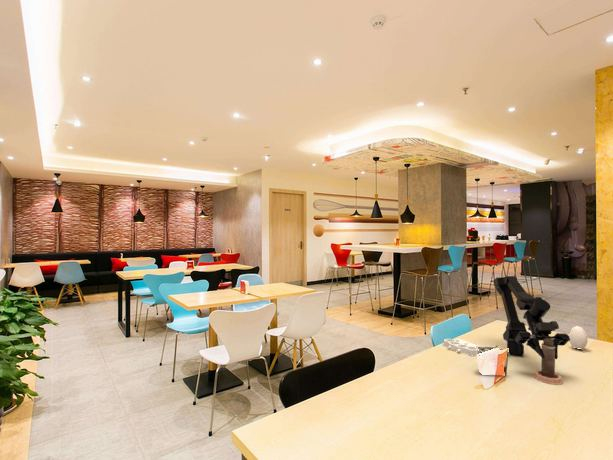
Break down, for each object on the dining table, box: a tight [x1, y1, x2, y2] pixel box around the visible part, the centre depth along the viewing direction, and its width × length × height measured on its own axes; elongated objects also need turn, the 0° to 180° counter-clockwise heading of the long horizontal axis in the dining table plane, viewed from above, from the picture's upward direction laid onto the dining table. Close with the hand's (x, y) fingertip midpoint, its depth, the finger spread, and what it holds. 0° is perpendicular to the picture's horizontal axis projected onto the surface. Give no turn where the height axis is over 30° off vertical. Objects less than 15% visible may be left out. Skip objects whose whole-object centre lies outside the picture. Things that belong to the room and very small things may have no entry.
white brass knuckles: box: [443, 338, 482, 357], centre depth 169 cm, size 3×18×15 cm
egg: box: [568, 325, 589, 350], centre depth 170 cm, size 7×7×12 cm
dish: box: [533, 369, 564, 386], centre depth 136 cm, size 10×10×2 cm
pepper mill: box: [540, 338, 556, 377], centre depth 136 cm, size 4×4×15 cm
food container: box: [478, 346, 511, 377], centre depth 142 cm, size 12×6×10 cm, turn 84°
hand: (550, 358), depth 134 cm, fingers closed on pepper mill, 4 cm apart
